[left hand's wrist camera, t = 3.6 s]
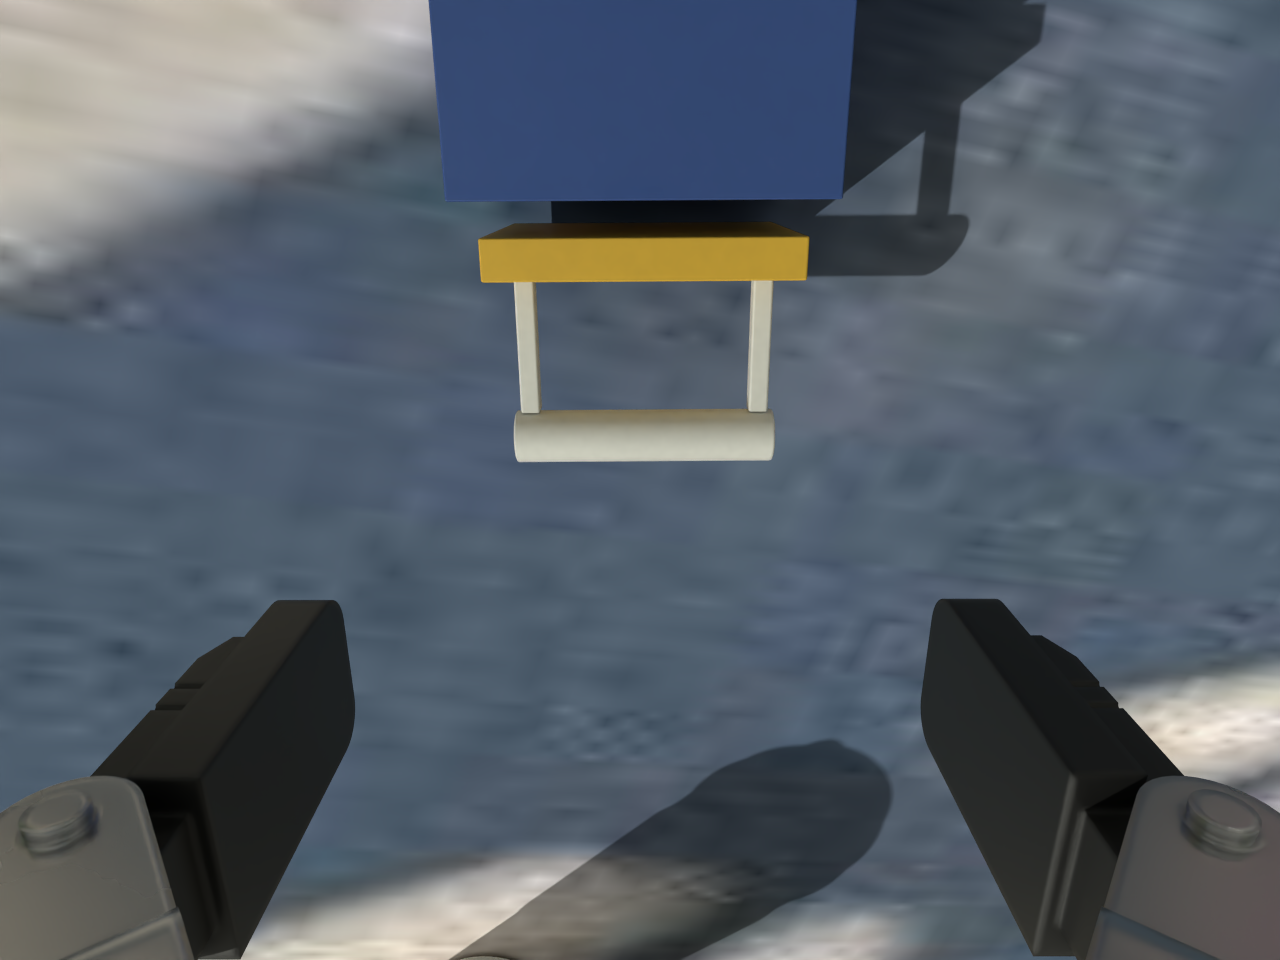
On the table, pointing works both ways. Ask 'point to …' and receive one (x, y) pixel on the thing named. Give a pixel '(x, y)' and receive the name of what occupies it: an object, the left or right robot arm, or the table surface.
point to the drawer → (644, 257)
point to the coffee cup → (483, 958)
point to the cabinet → (642, 98)
